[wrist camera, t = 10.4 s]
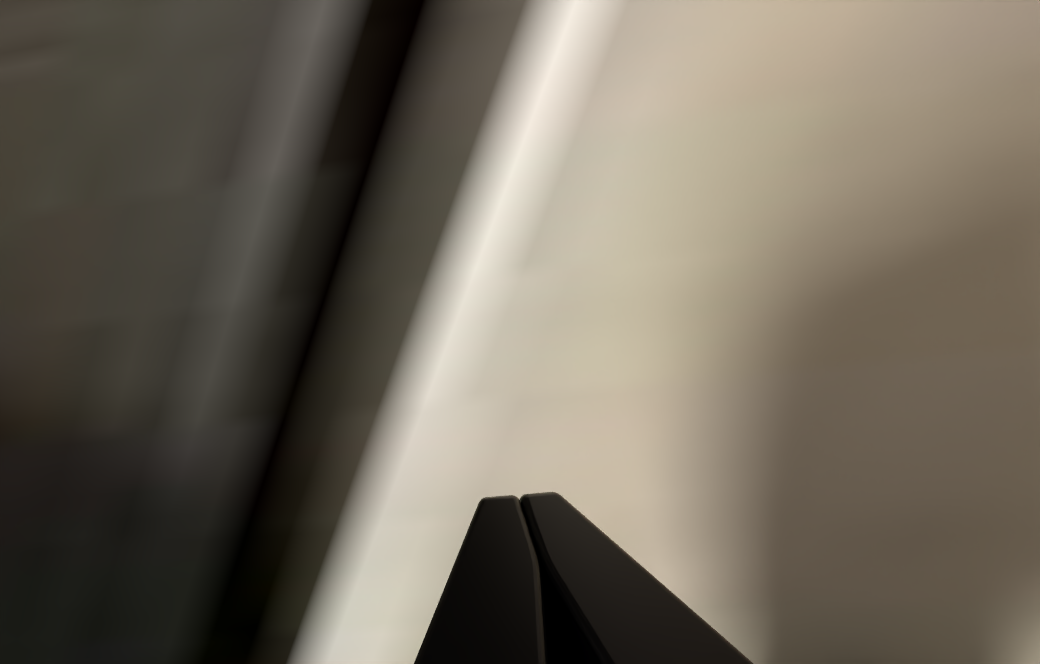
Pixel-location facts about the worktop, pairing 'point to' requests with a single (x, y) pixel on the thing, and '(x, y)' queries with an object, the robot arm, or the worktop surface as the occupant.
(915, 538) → the worktop surface
